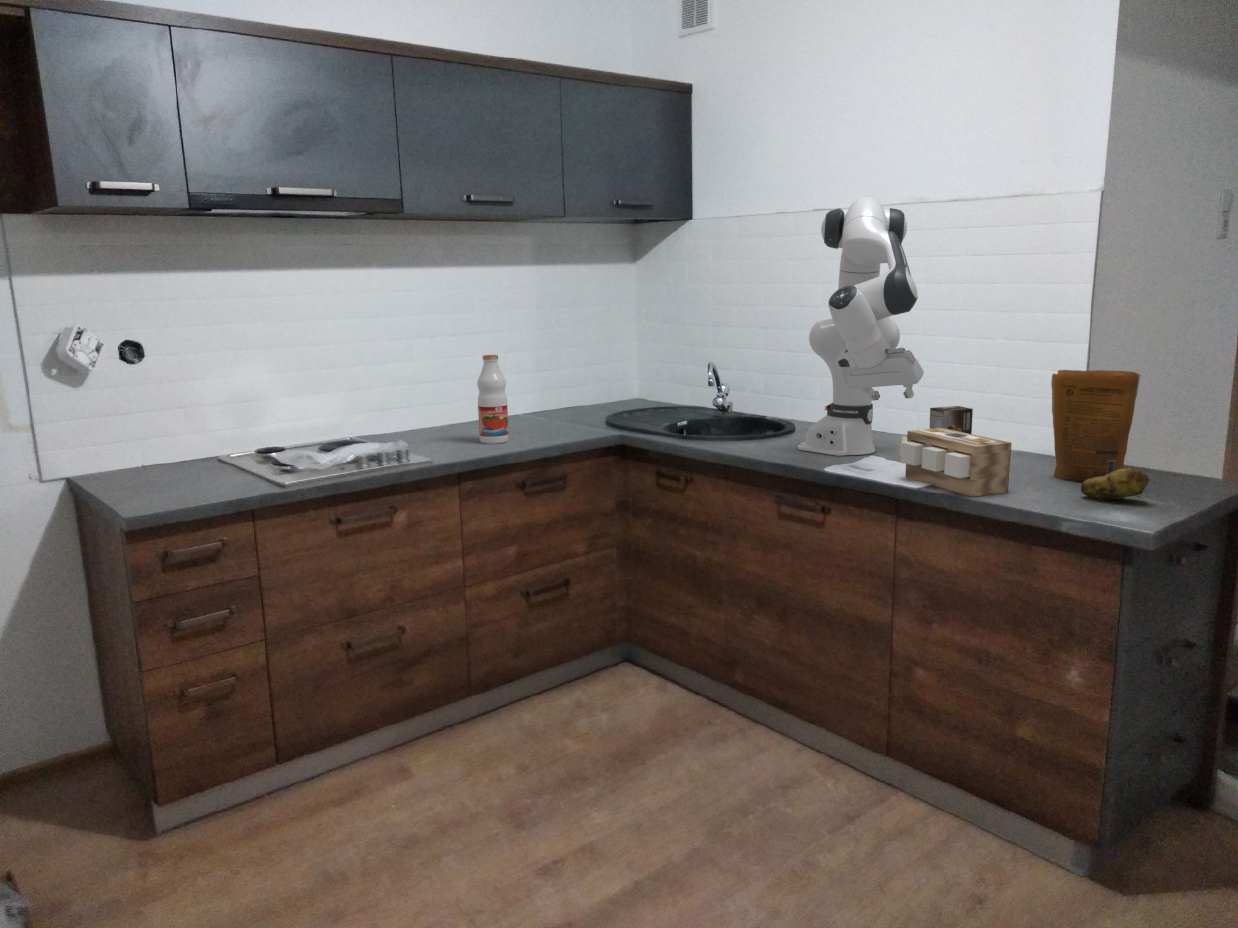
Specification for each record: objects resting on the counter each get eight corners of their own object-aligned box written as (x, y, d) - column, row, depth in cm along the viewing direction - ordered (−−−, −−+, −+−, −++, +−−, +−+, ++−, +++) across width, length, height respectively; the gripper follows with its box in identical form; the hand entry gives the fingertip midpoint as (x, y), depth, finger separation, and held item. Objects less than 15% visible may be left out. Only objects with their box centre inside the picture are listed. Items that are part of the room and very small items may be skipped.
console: (972, 496, 214) (975, 444, 212) (905, 476, 236) (907, 429, 234) (1008, 492, 218) (1011, 440, 216) (938, 472, 240) (941, 425, 237)
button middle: (935, 471, 221) (936, 451, 220) (921, 467, 225) (922, 447, 224) (964, 468, 224) (966, 448, 223) (950, 464, 229) (951, 444, 228)
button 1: (913, 465, 228) (914, 445, 227) (900, 461, 233) (901, 442, 232) (942, 462, 231) (943, 442, 230) (928, 458, 236) (929, 439, 235)
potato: (1093, 492, 216) (1096, 459, 215) (1151, 502, 206) (1154, 468, 205) (1076, 498, 211) (1079, 464, 210) (1134, 508, 201) (1138, 473, 200)
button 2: (959, 478, 214) (960, 457, 213) (944, 474, 218) (945, 453, 217) (989, 474, 217) (990, 453, 216) (973, 470, 221) (975, 450, 220)
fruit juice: (503, 438, 303) (499, 353, 297) (513, 442, 295) (509, 355, 289) (476, 440, 299) (471, 355, 293) (485, 445, 290) (480, 357, 285)
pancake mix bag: (1125, 489, 219) (1137, 372, 213) (1042, 478, 231) (1051, 368, 225) (1133, 484, 223) (1144, 370, 218) (1051, 474, 236) (1060, 366, 230)
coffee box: (955, 463, 251) (959, 405, 248) (970, 467, 245) (974, 408, 242) (926, 465, 249) (929, 407, 246) (940, 470, 243) (944, 410, 240)
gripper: (915, 338, 206) (937, 387, 212) (841, 347, 222) (864, 392, 228) (902, 355, 203) (925, 404, 209) (828, 363, 219) (852, 408, 225)
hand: (893, 397), depth 218 cm, fingers open, 8 cm apart
